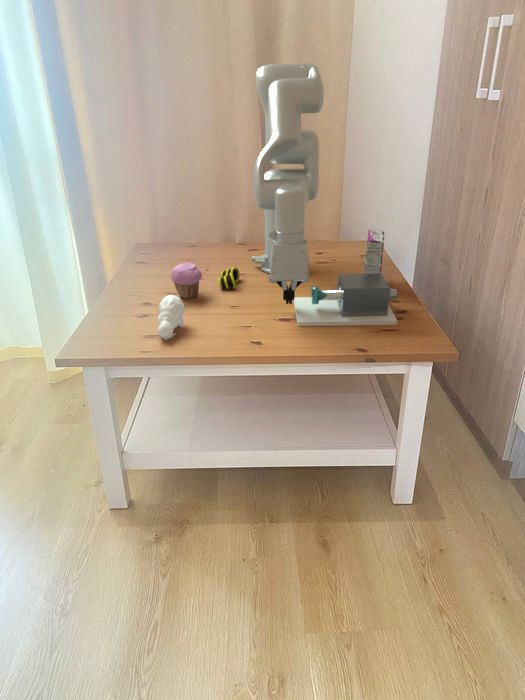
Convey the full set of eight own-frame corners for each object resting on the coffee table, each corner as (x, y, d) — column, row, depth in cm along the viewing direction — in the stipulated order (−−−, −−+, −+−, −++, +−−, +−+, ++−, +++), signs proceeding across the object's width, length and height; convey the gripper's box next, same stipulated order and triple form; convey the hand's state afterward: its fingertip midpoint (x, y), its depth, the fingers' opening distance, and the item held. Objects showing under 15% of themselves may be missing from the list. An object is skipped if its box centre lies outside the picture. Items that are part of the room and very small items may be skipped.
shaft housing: (342, 316, 143) (343, 288, 139) (336, 300, 152) (338, 274, 148) (387, 315, 143) (390, 287, 139) (379, 300, 152) (382, 273, 148)
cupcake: (208, 296, 159) (206, 263, 154) (185, 304, 154) (182, 271, 149) (190, 288, 165) (187, 256, 160) (167, 296, 159) (163, 264, 154)
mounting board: (297, 326, 141) (297, 322, 140) (293, 301, 155) (293, 297, 154) (396, 324, 141) (397, 320, 140) (383, 299, 155) (384, 295, 154)
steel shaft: (312, 307, 144) (313, 290, 142) (311, 300, 149) (311, 283, 146) (396, 305, 144) (398, 289, 142) (392, 298, 149) (394, 282, 146)
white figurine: (184, 292, 139) (173, 316, 130) (187, 320, 144) (177, 345, 134) (160, 291, 140) (148, 315, 130) (164, 319, 145) (153, 344, 135)
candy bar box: (363, 280, 168) (367, 229, 160) (379, 281, 167) (385, 229, 159) (361, 294, 158) (366, 240, 150) (379, 295, 158) (384, 241, 150)
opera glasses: (225, 281, 171) (221, 267, 169) (241, 279, 170) (237, 264, 168) (220, 293, 163) (215, 278, 161) (236, 291, 162) (232, 275, 160)
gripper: (260, 241, 134) (261, 308, 143) (320, 240, 134) (317, 307, 143) (260, 232, 141) (261, 296, 150) (317, 231, 141) (314, 296, 150)
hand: (288, 301), depth 146 cm, fingers closed
